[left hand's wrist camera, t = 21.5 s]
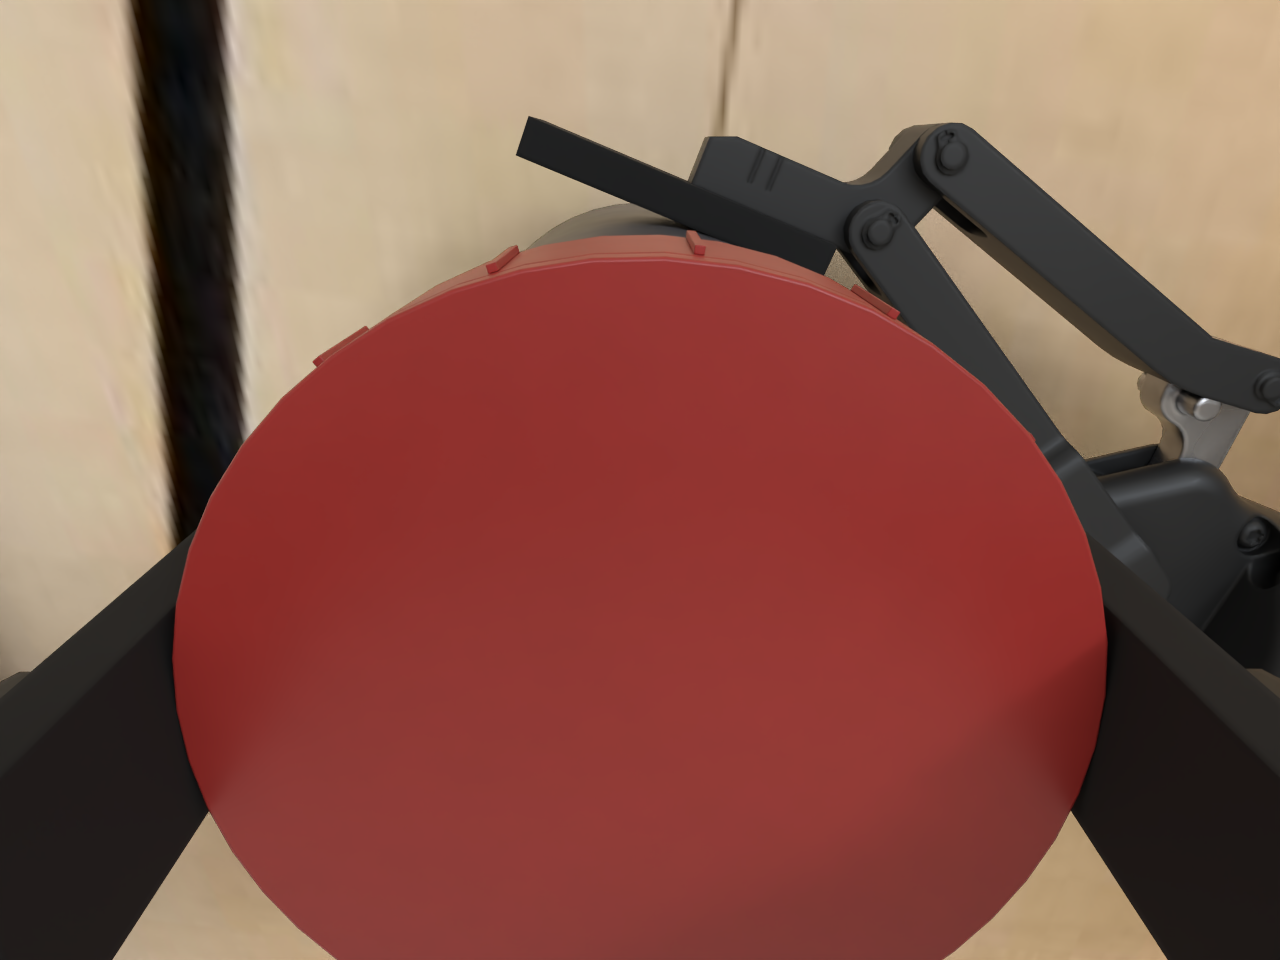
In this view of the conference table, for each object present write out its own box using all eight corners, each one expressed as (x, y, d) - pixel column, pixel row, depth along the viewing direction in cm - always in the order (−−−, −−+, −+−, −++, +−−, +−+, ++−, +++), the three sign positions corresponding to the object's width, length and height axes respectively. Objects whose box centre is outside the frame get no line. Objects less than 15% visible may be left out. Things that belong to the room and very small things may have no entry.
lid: (1002, 894, 14) (1067, 1032, 12) (341, 937, 14) (287, 1078, 12) (1054, 195, 10) (1164, 208, 8) (163, 274, 10) (41, 306, 8)
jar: (853, 420, 27) (1137, 785, 12) (590, 564, 29) (531, 1051, 13) (699, 135, 24) (804, 113, 9) (417, 314, 26) (88, 561, 10)
